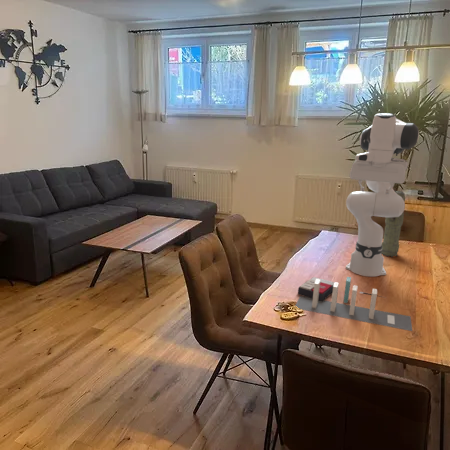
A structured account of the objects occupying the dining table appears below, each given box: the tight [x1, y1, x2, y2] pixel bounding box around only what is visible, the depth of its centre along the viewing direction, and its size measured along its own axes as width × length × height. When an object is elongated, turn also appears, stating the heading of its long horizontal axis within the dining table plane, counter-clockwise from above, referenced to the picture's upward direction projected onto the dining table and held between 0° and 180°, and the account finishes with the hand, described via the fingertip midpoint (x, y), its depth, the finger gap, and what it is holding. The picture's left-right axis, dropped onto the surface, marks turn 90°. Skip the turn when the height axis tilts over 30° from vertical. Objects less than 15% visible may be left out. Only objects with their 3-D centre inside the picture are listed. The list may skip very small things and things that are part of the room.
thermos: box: [381, 190, 406, 258], centre depth 228 cm, size 9×12×35 cm
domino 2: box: [330, 281, 340, 312], centre depth 161 cm, size 2×5×10 cm, turn 160°
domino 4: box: [349, 284, 359, 315], centre depth 159 cm, size 2×5×10 cm, turn 160°
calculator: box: [297, 276, 335, 301], centre depth 177 cm, size 11×4×15 cm
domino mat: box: [294, 295, 413, 332], centre depth 160 cm, size 12×42×1 cm, turn 70°
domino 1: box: [312, 278, 321, 308], centre depth 163 cm, size 2×5×10 cm, turn 160°
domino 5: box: [369, 288, 378, 319], centre depth 157 cm, size 2×5×10 cm, turn 160°
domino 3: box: [343, 276, 352, 304], centre depth 169 cm, size 2×5×10 cm, turn 160°
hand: (374, 192), depth 164 cm, fingers open, 8 cm apart
